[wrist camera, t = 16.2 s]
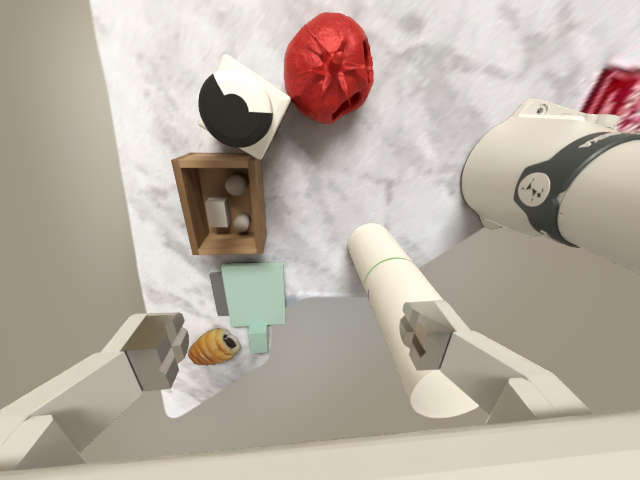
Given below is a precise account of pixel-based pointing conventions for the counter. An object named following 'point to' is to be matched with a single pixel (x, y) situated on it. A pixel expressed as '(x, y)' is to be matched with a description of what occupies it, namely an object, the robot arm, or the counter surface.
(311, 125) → the counter surface
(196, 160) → the wooden box
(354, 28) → the pomegranate
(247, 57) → the counter surface
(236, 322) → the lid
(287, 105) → the medicine bottle
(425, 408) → the cylindrical container
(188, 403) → the counter surface
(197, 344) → the pastry
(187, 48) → the counter surface
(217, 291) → the mat
